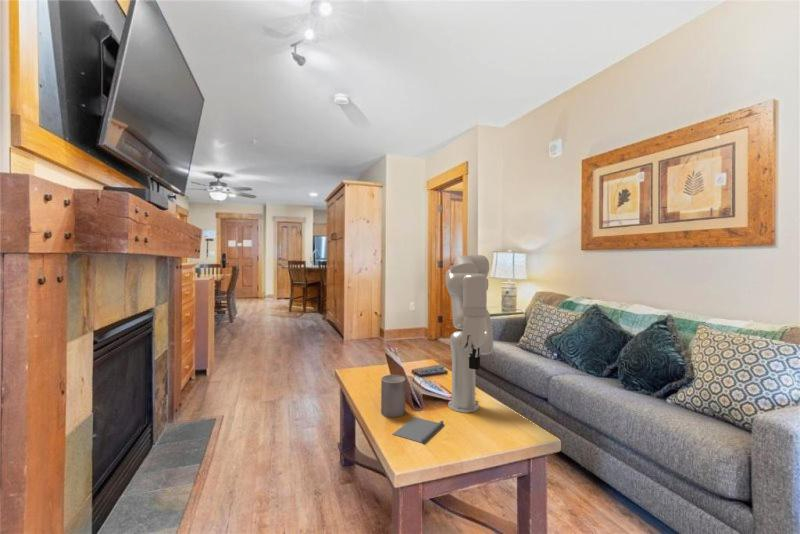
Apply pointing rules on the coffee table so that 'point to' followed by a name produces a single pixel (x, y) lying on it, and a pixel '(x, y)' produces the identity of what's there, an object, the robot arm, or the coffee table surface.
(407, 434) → the slate mat
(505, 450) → the coffee table surface
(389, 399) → the pillar candle
